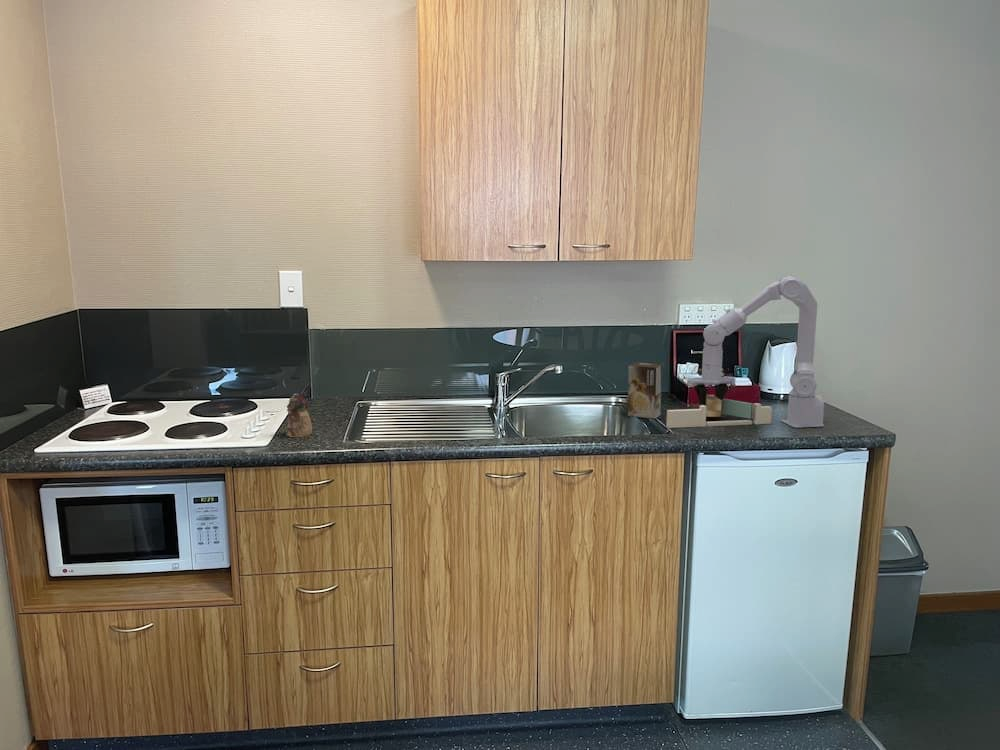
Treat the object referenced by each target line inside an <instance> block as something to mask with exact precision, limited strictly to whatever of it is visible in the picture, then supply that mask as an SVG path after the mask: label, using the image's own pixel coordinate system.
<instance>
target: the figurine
mask: <svg viewBox="0 0 1000 750" xmlns="http://www.w3.org/2000/svg"><path fill="white" fill-rule="evenodd" d="M307 396H308V394H307V393H306V392H303V393H302V395H300V394H299V393H294V394H292V396H291V397H290V398H289V400H288V404H287V406H286V409H287V411H286V412H287V413H288V420H287V427H286V437H287V436H289V438H291V437H302V438H305V437H304V436H306V437H308V436H307V435H309V436H311V435H312V434H311V433H313V425H312V420H311V416H310V414H309V412H308V410H309V402H308V400H306V399H305V398H306V397H307ZM303 404H305V407H303ZM310 434H311V435H310Z"/></svg>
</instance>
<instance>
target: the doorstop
mask: <svg viewBox="0 0 1000 750" xmlns="http://www.w3.org/2000/svg"><path fill="white" fill-rule="evenodd" d="M721 403H722V400H720V399H719V398H717V397H716V396H715V394H707V395H706V418H707V417H708V418H709V417H711V418H713V417H715V418H716V417H717V418H718V417H721V415H722V413H721Z"/></svg>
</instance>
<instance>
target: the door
mask: <svg viewBox="0 0 1000 750" xmlns="http://www.w3.org/2000/svg"><path fill="white" fill-rule="evenodd" d="M754 414H755V404H754V403H752V402H746V401H740V400H734V399H729V398H723V400H722V403H721V415H727V416H731V417H732V416H733V417H739V418H744V419H748V420H753V419H754Z"/></svg>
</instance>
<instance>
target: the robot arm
mask: <svg viewBox="0 0 1000 750" xmlns="http://www.w3.org/2000/svg"><path fill="white" fill-rule="evenodd" d="M781 296H782V297H783V298H785V299H786V300H789V301H791V302H792V303H793V304H794V305H796V307H797V308H798V309H799V310H798V312H799V313H798V325H797V327H798V328H797V336H796V337H797V340H796V342H797V343H796V352H795V353H796V354H795V363H794V366H793V368H794V369H793V372H792V374H791V376H790V379H789V383H790V385H791V387H792V388H791V390H790V391H789V393H788V406H787V407H788V408H787V419H781V422H782V423H784V424H787V426H790V427H792V428H797V429H798V428H817V427H819V428H820V427H825V424H824V414H825V413H824V412H825V401H824V398H823V397H822V396H821V395H820V394H816V393H815V392H816V391H817V382H816V380H815V376H814V375H815V371H814V370H815V369H814V354H815V341H816V330H817V329H816V328H817V327H816V326H817V314H818V302H817V300H816V298H815V297H814V295H813V294H812V291H810V288H809V286H808V285H807V284H806V283H805V282H804V281H802V280H801V279H799V278H797V277H796V276H793V275H792V274H791V275H784V276H782V277H781V278H780V279H779V280H776V281H774V282H773V283H771V284H770V285H768V286H767V287H764V289H762V290H761V291H760V292H759V293H757V294H756V295H754V297H752V298H751V299H750V300H748V301H747V302H746V303H745V304H744V305H741V306H740V307H732V308H727V309H726V310H725V312H726V313H724V314H723V315H722V316H720V317H719V318H718V319H714V320H713V321H712V324H711V323H710V324H709V325H707V326H706V327H705V328H704V330H703V332H702V335H703V339H704V342H703V349H702V360H701V361H702V362H701V363H702V365H701V366H702V367H701V377H696V378H687V381H686V385H687V386H688V387H694V388H693V389H694V390H695V392H696V395H697V398H698V401H699V402H698V403H699V405H704V406H706V395H708V390H709V389H708V388H707V387H706V386H714V396H716V397H717V398H719V399H720V400H723V399H725V398H724V397H725V395H726V394H727V392H728V391H729V388H730V386H728V385H731V386H735V385H736V378H734V377H733V376H731V377H724V376H723V377H722V375H723V374H722V371H723V354H724V353H723V352H724V350H723V343H724V340H725V337H727V336H730V335H732V334H733V333H734V332H735V331H737V330H738V329H739V328H742V326H743V325H745V324H746V322H747V317H748V316H750V315H752V313H755V312H756V311H757V310H758V309H760V308H761V307H762V306H765V305H766V304H767V303H769V302H770V301H778V300H779V301H780V300H782V298H781Z"/></svg>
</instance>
